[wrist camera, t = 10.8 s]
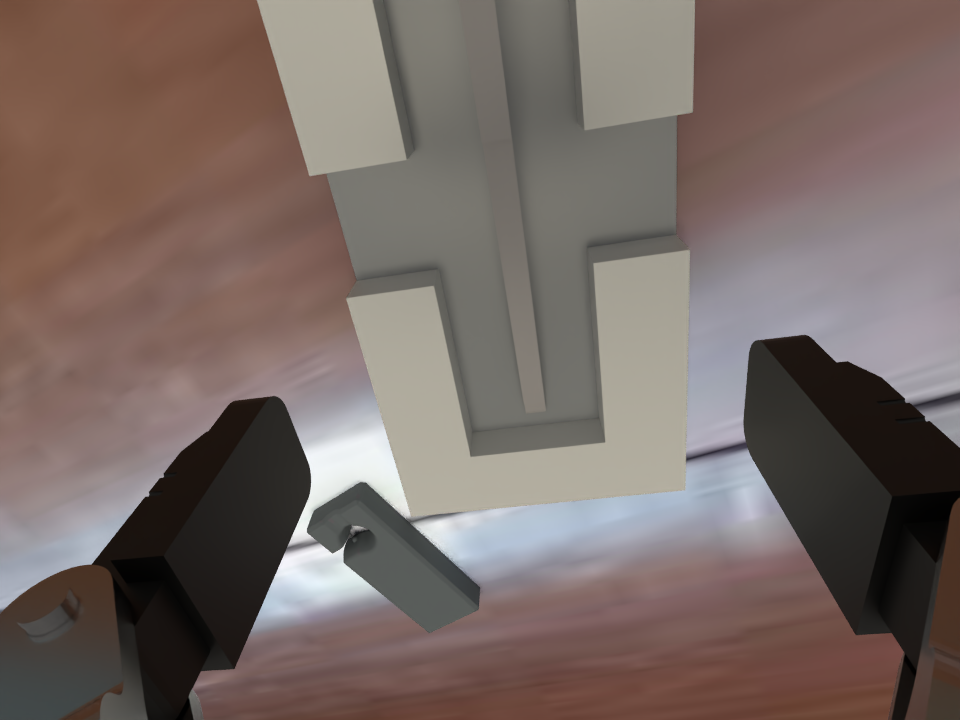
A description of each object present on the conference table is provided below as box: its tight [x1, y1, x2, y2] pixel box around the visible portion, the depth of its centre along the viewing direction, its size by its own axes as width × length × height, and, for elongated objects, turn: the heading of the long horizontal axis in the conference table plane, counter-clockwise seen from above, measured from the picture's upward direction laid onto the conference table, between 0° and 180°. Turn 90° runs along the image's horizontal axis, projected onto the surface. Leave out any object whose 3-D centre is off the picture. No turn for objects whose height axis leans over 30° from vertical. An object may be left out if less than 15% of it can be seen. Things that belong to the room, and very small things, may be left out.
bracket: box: [307, 482, 480, 633], centre depth 34 cm, size 4×11×2 cm, turn 37°
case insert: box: [257, 0, 695, 517], centre depth 23 cm, size 14×30×2 cm, turn 9°
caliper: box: [459, 0, 546, 414], centre depth 21 cm, size 21×1×6 cm, turn 9°
